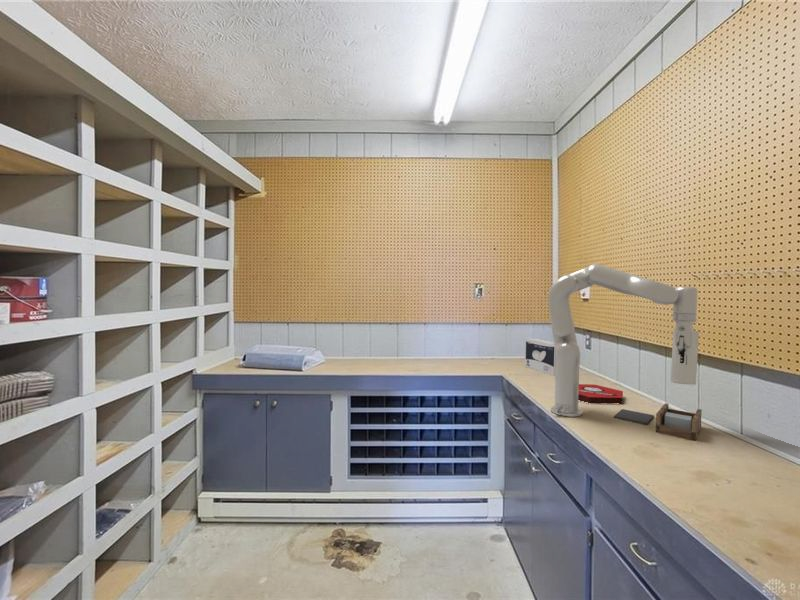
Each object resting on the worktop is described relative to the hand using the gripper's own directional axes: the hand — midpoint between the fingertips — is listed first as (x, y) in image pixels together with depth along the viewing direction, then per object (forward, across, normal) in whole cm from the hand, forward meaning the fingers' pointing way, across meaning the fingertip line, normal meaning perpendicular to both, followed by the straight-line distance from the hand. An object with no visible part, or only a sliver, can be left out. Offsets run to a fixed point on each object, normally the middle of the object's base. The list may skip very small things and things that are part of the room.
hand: (682, 363), depth 153 cm
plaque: (+26, +22, +39) cm, 51 cm away
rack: (+25, -5, 0) cm, 26 cm away
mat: (+25, -1, +16) cm, 30 cm away
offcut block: (+25, -8, 0) cm, 26 cm away
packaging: (+26, +67, +83) cm, 109 cm away
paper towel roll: (+8, 0, 0) cm, 8 cm away
